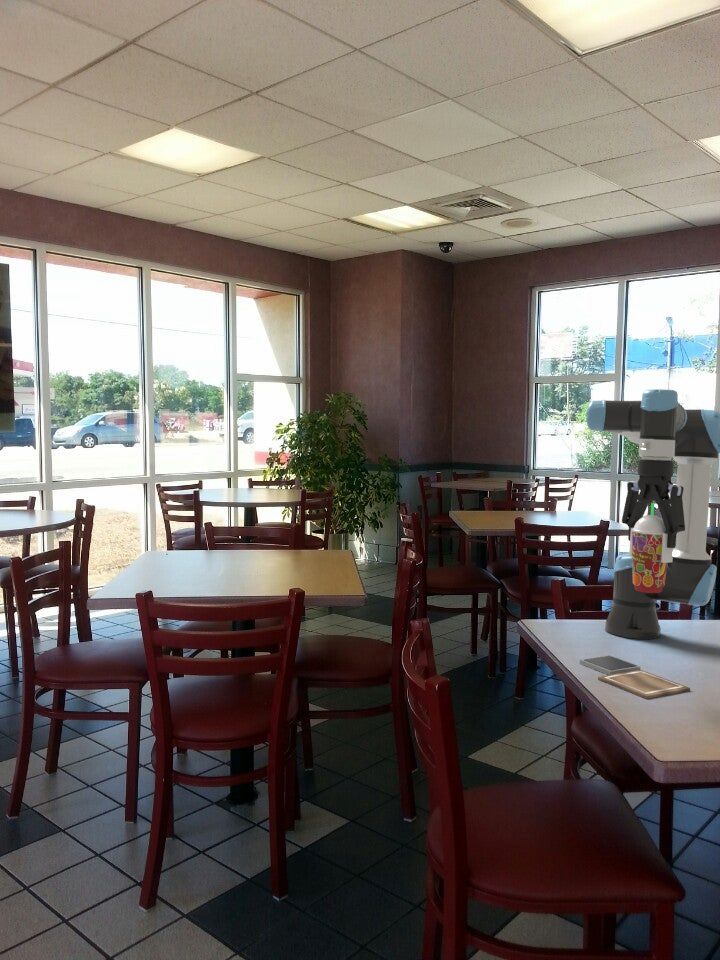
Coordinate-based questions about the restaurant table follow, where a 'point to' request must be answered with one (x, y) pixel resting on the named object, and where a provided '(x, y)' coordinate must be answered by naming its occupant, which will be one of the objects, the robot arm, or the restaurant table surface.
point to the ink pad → (609, 665)
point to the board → (644, 684)
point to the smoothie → (648, 554)
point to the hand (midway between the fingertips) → (650, 558)
